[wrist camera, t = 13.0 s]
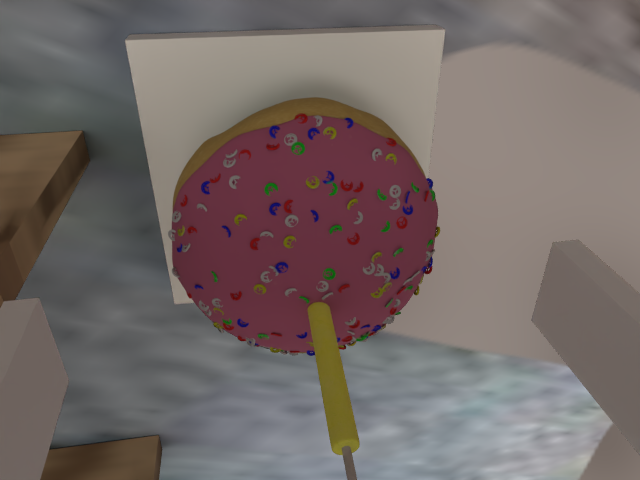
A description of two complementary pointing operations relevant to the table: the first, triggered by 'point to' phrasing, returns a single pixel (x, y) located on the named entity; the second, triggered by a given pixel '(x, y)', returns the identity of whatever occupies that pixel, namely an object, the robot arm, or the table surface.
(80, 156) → the brown open-sided frame
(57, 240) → the table surface
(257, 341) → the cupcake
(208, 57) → the plate
